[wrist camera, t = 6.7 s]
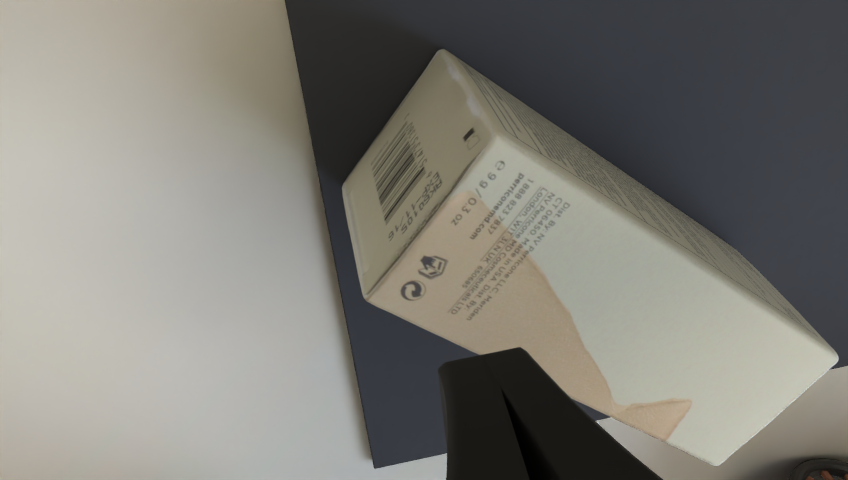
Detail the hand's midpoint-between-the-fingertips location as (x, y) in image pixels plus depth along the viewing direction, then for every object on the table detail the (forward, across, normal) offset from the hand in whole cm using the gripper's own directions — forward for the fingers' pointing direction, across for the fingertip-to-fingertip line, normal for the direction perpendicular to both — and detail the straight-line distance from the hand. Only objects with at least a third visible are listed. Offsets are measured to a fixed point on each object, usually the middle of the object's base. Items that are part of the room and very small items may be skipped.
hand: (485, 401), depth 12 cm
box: (+6, 0, -2) cm, 6 cm away
